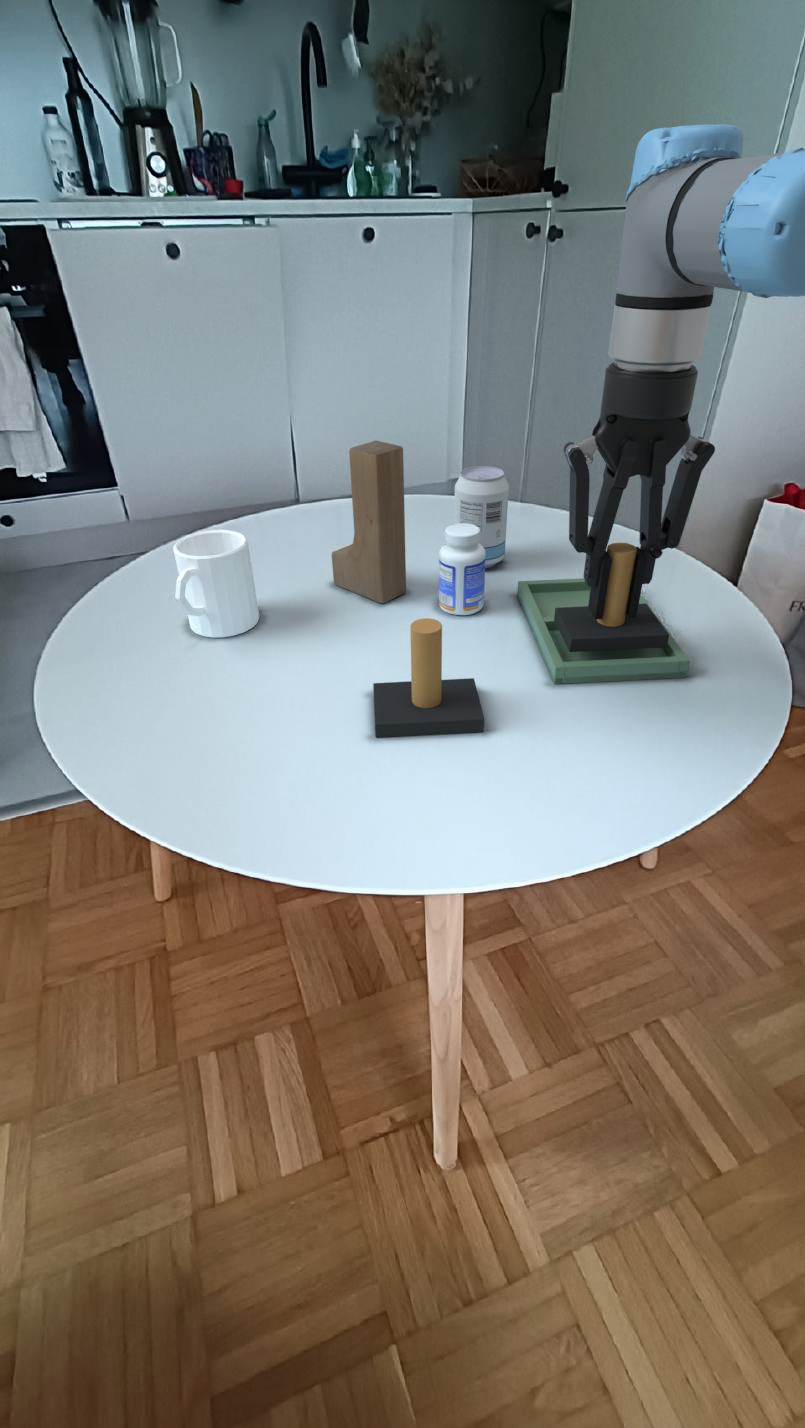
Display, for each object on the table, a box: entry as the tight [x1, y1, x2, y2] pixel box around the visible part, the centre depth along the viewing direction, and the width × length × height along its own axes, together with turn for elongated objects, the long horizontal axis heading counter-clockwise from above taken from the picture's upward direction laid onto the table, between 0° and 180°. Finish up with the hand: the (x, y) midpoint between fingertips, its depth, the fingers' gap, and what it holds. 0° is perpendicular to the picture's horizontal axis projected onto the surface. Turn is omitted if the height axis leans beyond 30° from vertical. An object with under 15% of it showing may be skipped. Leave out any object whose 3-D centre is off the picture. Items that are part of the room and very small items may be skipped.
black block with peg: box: [372, 617, 485, 738], centre depth 66 cm, size 7×10×10 cm
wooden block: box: [331, 440, 407, 604], centre depth 86 cm, size 9×4×18 cm, turn 47°
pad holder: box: [516, 577, 691, 685], centre depth 80 cm, size 20×14×2 cm
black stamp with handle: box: [554, 542, 669, 652], centre depth 73 cm, size 7×10×10 cm
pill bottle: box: [438, 523, 486, 616], centre depth 84 cm, size 5×5×10 cm
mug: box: [172, 529, 260, 639], centre depth 81 cm, size 8×12×10 cm
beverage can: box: [453, 465, 510, 569], centre depth 94 cm, size 7×7×12 cm
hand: (611, 611), depth 74 cm, fingers closed on black stamp with handle, 3 cm apart
